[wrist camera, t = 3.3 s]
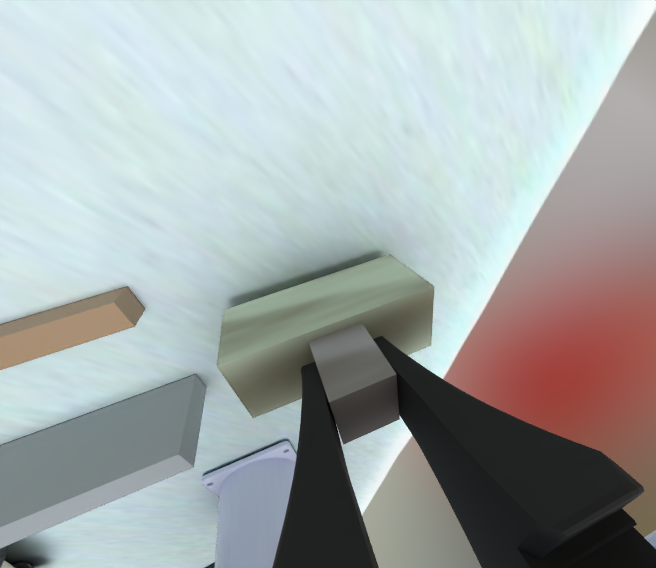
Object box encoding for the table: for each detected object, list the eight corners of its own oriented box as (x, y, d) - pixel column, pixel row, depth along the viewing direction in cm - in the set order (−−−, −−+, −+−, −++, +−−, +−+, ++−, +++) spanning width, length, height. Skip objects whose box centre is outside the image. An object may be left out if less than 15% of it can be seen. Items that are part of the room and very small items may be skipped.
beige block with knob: (393, 305, 17) (474, 391, 11) (250, 358, 15) (255, 491, 9) (390, 254, 14) (489, 326, 9) (223, 309, 13) (207, 442, 7)
